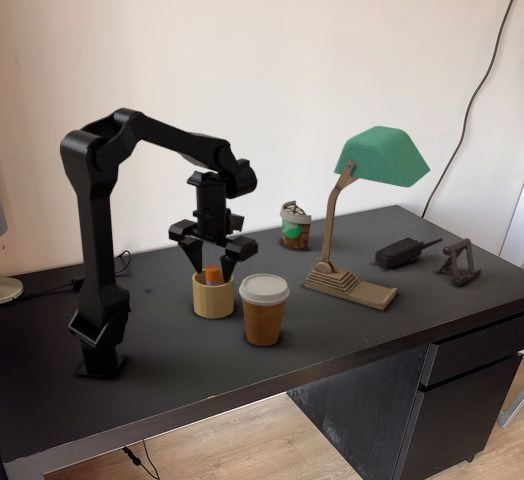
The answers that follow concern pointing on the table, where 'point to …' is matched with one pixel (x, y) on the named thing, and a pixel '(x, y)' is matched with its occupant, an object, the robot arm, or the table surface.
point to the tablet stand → (454, 252)
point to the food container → (295, 226)
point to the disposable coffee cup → (263, 307)
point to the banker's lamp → (374, 169)
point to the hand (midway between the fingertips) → (213, 277)
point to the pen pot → (212, 296)
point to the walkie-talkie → (402, 252)
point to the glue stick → (212, 275)
